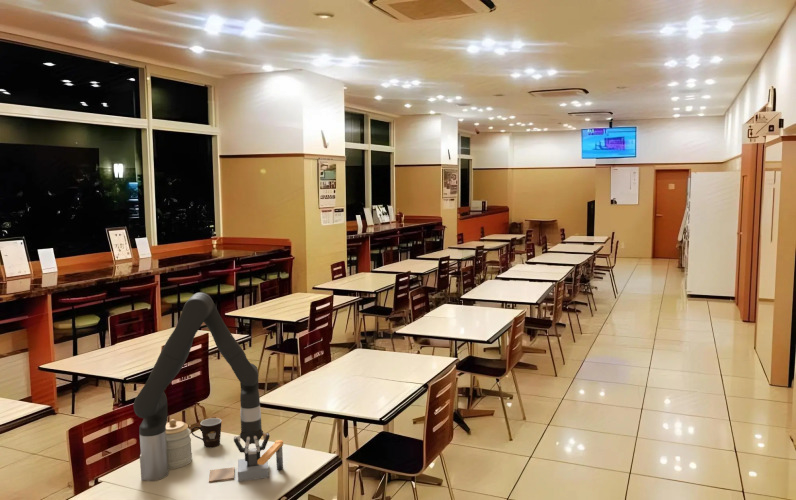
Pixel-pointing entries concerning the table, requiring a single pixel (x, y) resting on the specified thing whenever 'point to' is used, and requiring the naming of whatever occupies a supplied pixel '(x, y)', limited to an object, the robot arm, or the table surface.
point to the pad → (221, 474)
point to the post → (279, 459)
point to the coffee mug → (210, 432)
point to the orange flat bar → (270, 452)
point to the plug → (252, 457)
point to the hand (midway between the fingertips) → (252, 460)
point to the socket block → (251, 471)
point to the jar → (178, 444)
